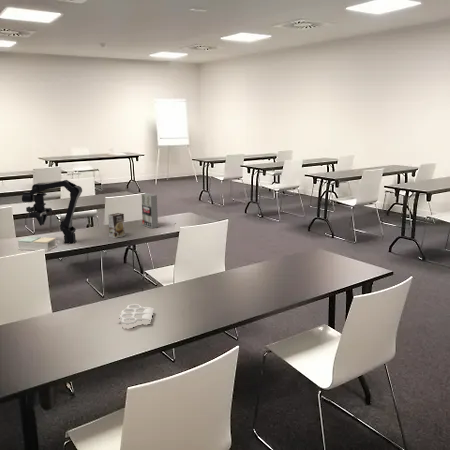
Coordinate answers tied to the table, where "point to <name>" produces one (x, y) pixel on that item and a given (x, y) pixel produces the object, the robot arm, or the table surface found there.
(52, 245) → the white tray
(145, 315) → the white flat holed piece
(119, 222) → the coffee box
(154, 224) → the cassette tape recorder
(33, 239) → the lid outer
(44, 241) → the lid inner
